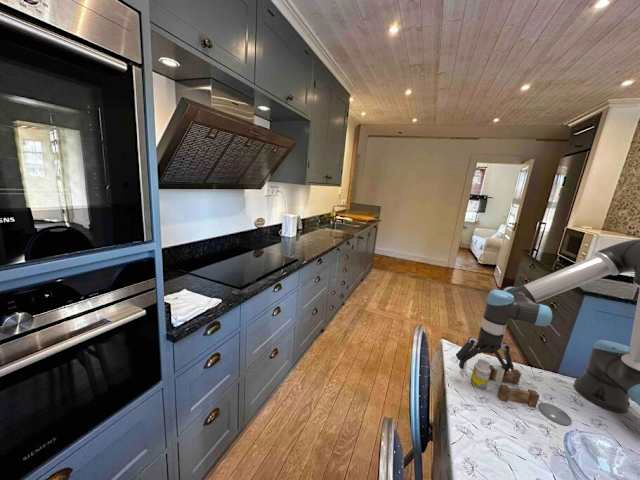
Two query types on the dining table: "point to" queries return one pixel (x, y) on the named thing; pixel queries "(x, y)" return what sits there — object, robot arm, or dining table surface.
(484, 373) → the supplement bottle
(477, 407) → the dining table surface
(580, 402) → the dining table surface
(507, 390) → the walnut channel
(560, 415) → the slate coaster
